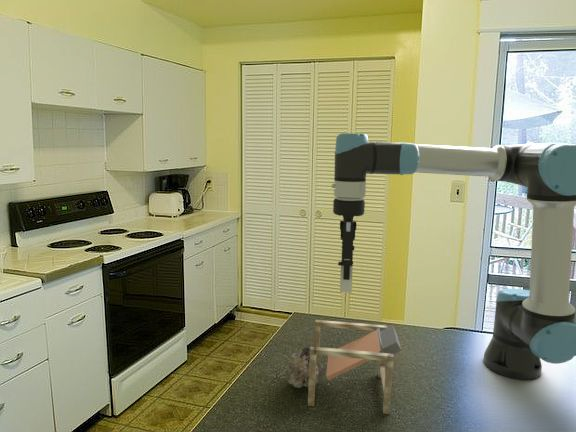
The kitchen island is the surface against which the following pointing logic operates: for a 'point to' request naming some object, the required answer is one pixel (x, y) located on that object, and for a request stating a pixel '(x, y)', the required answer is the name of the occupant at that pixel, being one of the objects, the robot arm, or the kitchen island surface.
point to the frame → (382, 357)
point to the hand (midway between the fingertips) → (345, 282)
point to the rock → (302, 369)
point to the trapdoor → (371, 343)
